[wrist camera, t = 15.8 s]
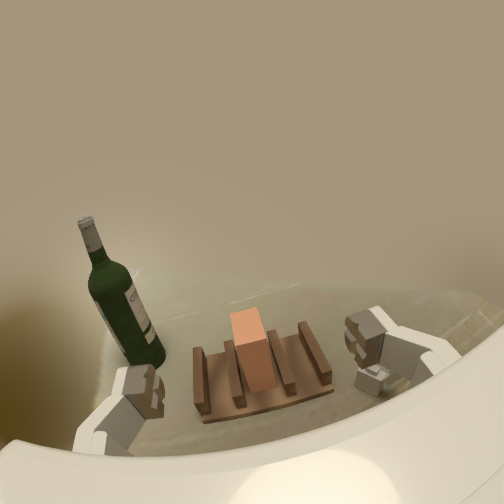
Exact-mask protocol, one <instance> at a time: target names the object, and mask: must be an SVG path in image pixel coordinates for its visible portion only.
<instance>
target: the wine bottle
mask: <svg viewBox="0 0 504 504" xmlns="http://www.w3.org/2000/svg"><path fill="white" fill-rule="evenodd" d="M78 227H79V229H80V230H81V233H82V237H83V240H84V243H85V246H86V249H87V251H88V254H89V257H90V260H91V262H92V268H93V269H92V271H91V274H90V277H89V280H88V288H89V292H90V294H91V296H92V298H93V300H94V302H95V304H96V306H97V308H98V310H99V312H100V314H101V315H102V318H103V319H104V321H105V323H106V325H107V327H108V328H109V330H110V332H111V334H112V335H113V337H114V339H115V341H116V342H117V344H118V346H119V347H120V349H121V350H122V352H123V354H124V355H125V357H126V358H127V360H128V362H129V363H130V365H131V366H136V365H145V364H152V365H153V367H154V368H155V369H156V368H158V367H159V366H160V365H161V364H162V363H163V361H164V359H165V349H164V348H163V346H162V344H161V342H160V340H159V338H158V336H157V334H156V332H155V330H154V328H153V326H152V324H151V321H150V319H149V317H148V315H147V313H146V311H145V309H144V306H143V304H142V302H141V300H140V297H139V295H138V293H137V291H136V288H135V286H134V284H133V281H132V279H131V276H130V274H129V272H128V270H127V269H126V268H125V267H124V266H123V265H121V264H119V263H117V262H114V261H111V260H110V259H109V257H108V256H107V254H106V252H105V249H104V247H103V244H102V242H101V240H100V237H99V235H98V232H97V230H96V227H95V224H94V220H93V217H92V216H91V215H87V216H84V217H83V218H80V219H79V220H78Z"/></svg>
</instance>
